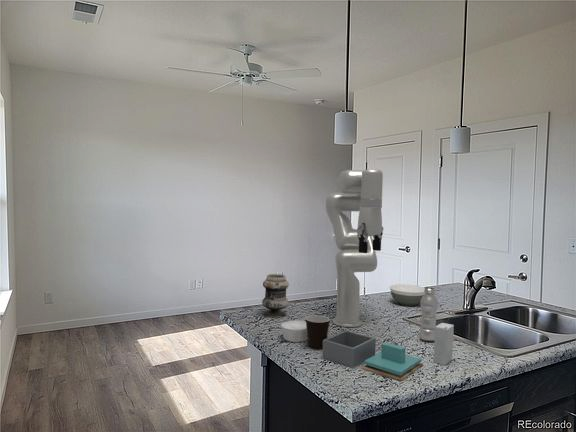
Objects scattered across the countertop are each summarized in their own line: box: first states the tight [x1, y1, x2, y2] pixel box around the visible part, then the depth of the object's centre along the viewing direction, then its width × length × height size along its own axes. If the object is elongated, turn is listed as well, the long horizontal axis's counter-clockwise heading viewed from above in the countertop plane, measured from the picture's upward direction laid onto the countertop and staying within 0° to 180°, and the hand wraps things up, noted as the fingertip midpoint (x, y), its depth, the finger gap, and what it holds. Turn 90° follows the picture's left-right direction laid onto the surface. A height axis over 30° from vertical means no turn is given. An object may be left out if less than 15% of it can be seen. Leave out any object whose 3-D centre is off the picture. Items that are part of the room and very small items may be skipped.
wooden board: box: [361, 362, 424, 382], centre depth 131 cm, size 16×13×1 cm
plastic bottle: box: [418, 286, 439, 342], centre depth 157 cm, size 6×7×20 cm
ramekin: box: [280, 320, 308, 343], centre depth 157 cm, size 11×11×5 cm
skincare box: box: [433, 322, 455, 366], centre depth 137 cm, size 6×4×12 cm
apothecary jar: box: [261, 273, 290, 319], centre depth 188 cm, size 12×12×18 cm
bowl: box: [389, 283, 425, 307], centre depth 213 cm, size 19×19×8 cm
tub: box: [321, 330, 377, 368], centre depth 139 cm, size 14×12×6 cm
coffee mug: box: [305, 315, 331, 351], centre depth 150 cm, size 12×9×10 cm
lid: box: [363, 341, 422, 376], centre depth 131 cm, size 14×12×6 cm
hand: (370, 251), depth 149 cm, fingers open, 9 cm apart
